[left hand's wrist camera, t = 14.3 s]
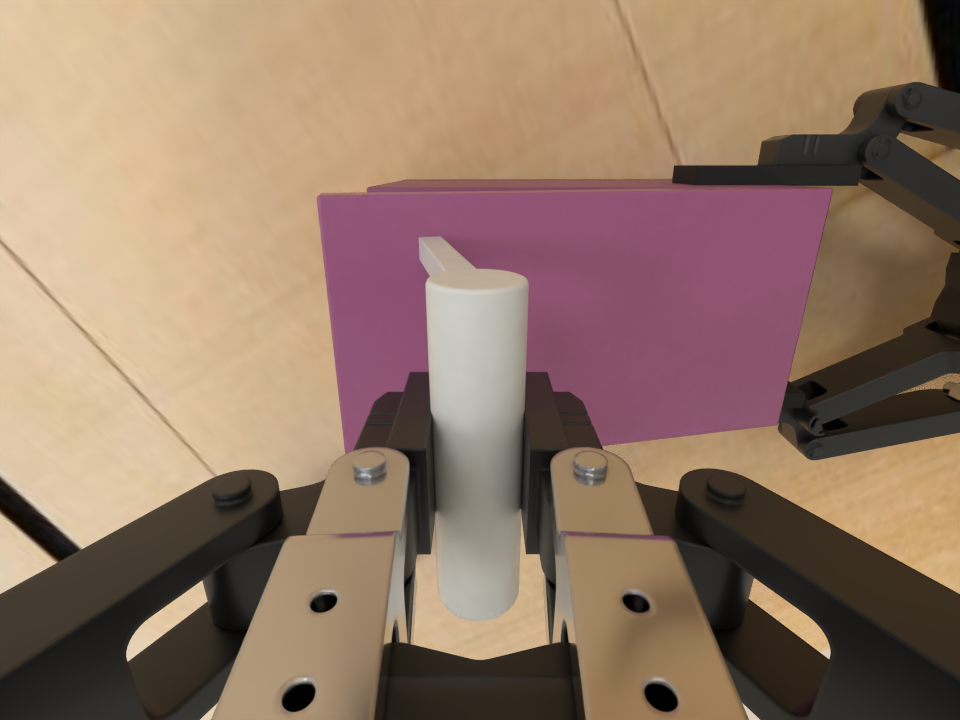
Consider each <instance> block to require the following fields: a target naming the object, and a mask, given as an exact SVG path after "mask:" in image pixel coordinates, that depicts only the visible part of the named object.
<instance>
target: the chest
mask: <svg viewBox="0 0 960 720" xmlns="http://www.w3.org/2000/svg"><path fill="white" fill-rule="evenodd" d="M763 187H802V186H788V185H689V184H679V183H672V179H491V180H402V181H398V182H393V183H388V184H383V185H378V186H373V187H368V188H367V193H372V192H450V191H528V190H607V189H685V188H763Z"/></svg>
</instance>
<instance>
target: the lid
mask: <svg viewBox="0 0 960 720" xmlns="http://www.w3.org/2000/svg"><path fill="white" fill-rule="evenodd" d="M831 195H832V189H831V188H814V187H763V188H685V189H607V190H528V191H450V192H372V193H322V194H320V195H318V196H317V205H318V213H319V222H320V231H321V240H322V249H323V258H324V267H325V276H326V285H327V294H328V303H329V312H330V321H331V330H332V339H333V348H334V357H335V366H336V375H337V384H338V392H339V401H340V410H341V419H342V428H343V437H344V446H345V454H347V453H349V452H352V451H353V449H354V447H355V445H356V443H357V440H358V438H359V436H360V433H361V431H362V429H363V426H364V425H365V422H366V420H367V417H368V415H369V413H370V410H371V408H372V406H373V403H374V401H376V400H377V399H378V398H380V397H381V396H382V395H384V394H385V393H386V392H404V389H405V386H406V382H407V379H408V376H409V373H410V372H429V386H430V409H431V413H432V422H433V448H434V474H435V501H436V514H435V532H436V556H437V581H438V594H439V597H440V599H441V601H442V603H443V604H444V606H445V607H446V608H447V609H448V610H449V611H450V612H451V613H453V614H454V615H456V616H458V617H460V618H463V619H467V620H472V621H484V620H490V619H493V618H496V617H498V616H500V615H502V614H504V613H505V612H506V611H508V610H509V609H510V608H511V606H512V605H513V604H514V602H515V600H516V598H517V596H518V592H519V567H520V537H521V490H522V460H523V431H524V411H525V385H526V372H547V373H548V375H549V379H550V382H551V385H552V388H553V391H554V392H571V393H572V394H574V395H575V396H576V397H578V398H579V399H580V400H582V401H583V403H584V405H585V408H586V410H587V412H588V415H589V417H590V420H591V422H592V425H593V427H594V429H595V431H596V434H597V436H598V438H599V441H600V443H601V446H606V445H614V444H623V443H631V442H639V441H648V440H656V439H665V438H673V437H681V436H690V435H698V434H706V433H715V432H723V431H731V430H740V429H748V428H756V427H765V426H773V425H777V424H778V421H779V417H780V413H781V408H782V404H783V400H784V395H785V391H786V387H787V383H788V378H789V374H790V370H791V366H792V361H793V357H794V353H795V349H796V344H797V340H798V336H799V331H800V327H801V323H802V319H803V314H804V310H805V306H806V302H807V297H808V293H809V289H810V285H811V280H812V276H813V272H814V267H815V263H816V259H817V255H818V250H819V246H820V242H821V238H822V233H823V229H824V225H825V221H826V216H827V212H828V208H829V203H830V199H831Z"/></svg>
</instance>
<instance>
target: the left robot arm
mask: <svg viewBox="0 0 960 720" xmlns="http://www.w3.org/2000/svg"><path fill="white" fill-rule="evenodd" d="M435 514H436V501H435V474H434V448H433V422H432V413H431V409H430V386H429V372H410V373H409V376H408V379H407V382H406V386H405V389H404V392H386V393H385V394H384V395H382V396H381V397H380V398H378V399H377V400H376V401H374V403H373V406H372V408H371V410H370V413H369V415H368V417H367V420H366V422H365V425H364V426H363V429H362V431H361V433H360V436H359V438H358V440H357V443H356V445H355V447H354V449H353V451H352V452H349V453H347V454H345V455H343V456H341V457H340V458H338V459H337V460H336V461H335V462H334V463H333V464H332V465H331V467H330V469H329V472H328V475H327V478H326V480H324V481H321V482H319V483H316V484H312V485H308V486H304V487H299V488H294V489H289V490H283V491H279V485H278V481H277V479H276V477H275V476H273V475H272V474H270V473H268V472H265V471H261V470H239V471H234V472H229V473H226V474H222V475H219V476H217V477H214V478H212V479H210V480H208V481H206V482H204V483H202V484H201V485H199V486H197V487H195V488H193V489H191V490H190V491H188V492H186V493H184V494H182V495H180V496H179V497H177V498H175V499H173V500H171V501H169V502H168V503H166V504H164V505H162V506H160V507H159V508H157V509H155V510H153V511H151V512H149V513H148V514H146V515H144V516H142V517H140V518H138V519H137V520H135V521H133V522H131V523H129V524H128V525H126V526H124V527H122V528H120V529H118V530H117V531H115V532H113V533H111V534H109V535H107V536H106V537H104V538H102V539H100V540H98V541H97V542H95V543H93V544H91V545H89V546H87V547H86V548H84V549H82V550H80V551H78V552H76V553H75V554H73V555H71V556H69V557H67V558H66V559H64V560H62V561H60V562H58V563H56V564H55V565H53V566H51V567H49V568H47V569H45V570H44V571H42V572H40V573H38V574H36V575H34V576H33V577H31V578H29V579H27V580H25V581H24V582H22V583H20V584H18V585H16V586H14V587H13V588H11V589H9V590H7V591H5V592H3V593H2V594H0V720H200V719H201V718H202V717H203V716H204V715H205V714H206V713H207V712H208V711H209V710H210V709H211V708H212V707H214V706H215V705H216V704H217V703H218V704H217V707H216V709H215V711H214V714H213V716H212V719H211V720H749V719H748V716H747V714H746V711H745V709H744V707H743V704H744V705H745V706H746V707H747V708H749V709H750V710H751V711H752V712H753V713H754V714H755V715H756V716H757V717H758V718H759V719H760V720H960V594H958V593H957V592H955V591H953V590H951V589H949V588H947V587H946V586H944V585H942V584H940V583H938V582H936V581H935V580H933V579H931V578H929V577H927V576H925V575H924V574H922V573H920V572H918V571H916V570H915V569H913V568H911V567H909V566H907V565H905V564H904V563H902V562H900V561H898V560H896V559H894V558H893V557H891V556H889V555H887V554H885V553H884V552H882V551H880V550H878V549H876V548H874V547H873V546H871V545H869V544H867V543H865V542H863V541H862V540H860V539H858V538H856V537H854V536H853V535H851V534H849V533H847V532H845V531H843V530H842V529H840V528H838V527H836V526H834V525H832V524H831V523H829V522H827V521H825V520H823V519H822V518H820V517H818V516H816V515H814V514H812V513H811V512H809V511H807V510H805V509H803V508H801V507H800V506H798V505H796V504H794V503H792V502H790V501H789V500H787V499H785V498H783V497H781V496H780V495H778V494H776V493H774V492H772V491H770V490H769V489H767V488H765V487H763V486H761V485H759V484H758V483H756V482H754V481H752V480H750V479H748V478H746V477H744V476H741V475H739V474H736V473H733V472H729V471H725V470H719V469H708V468H707V469H697V470H693V471H690V472H688V473H686V474H685V475H683V476H682V478H681V480H680V484H679V490H678V491H673V490H668V489H663V488H658V487H653V486H649V485H644V484H641V483H638V482H635V480H634V478H633V475H632V472H631V469H630V467H629V465H628V464H627V463H626V462H625V461H624V460H623V459H622V458H620V457H619V456H617V455H615V454H613V453H611V452H608V451H605V450H603V448H602V446H601V443H600V441H599V438H598V436H597V434H596V431H595V429H594V427H593V425H592V422H591V420H590V417H589V415H588V412H587V410H586V408H585V405H584V403H583V401H582V400H580V399H579V398H578V397H576V396H575V395H574V394H572V393H571V392H554V391H553V388H552V385H551V382H550V379H549V375H548V373H547V372H526V385H525V411H524V431H523V460H522V490H521V514H522V523H523V531H524V540H525V549H526V554H540V560H541V566H542V570H543V572H544V584H543V589H544V607H545V624H546V641H547V645H544V646H540V647H536V648H532V649H528V650H524V651H520V652H516V653H512V654H508V655H504V656H500V657H495V658H491V659H487V660H473V659H469V658H465V657H460V656H456V655H452V654H448V653H444V652H440V651H436V650H432V649H428V648H424V647H420V646H416V645H413V641H414V624H415V607H416V589H417V584H416V567H415V563H416V556H417V554H431V547H432V538H433V530H434V522H435ZM754 578H755V579H757V580H758V581H760V582H761V583H762V584H764V585H765V586H767V587H768V588H769V589H771V590H772V591H774V592H775V593H777V594H778V595H779V596H781V597H782V598H784V599H785V600H786V601H788V602H789V603H791V604H792V605H793V606H795V607H796V608H798V609H799V610H800V611H802V612H803V613H805V614H806V615H807V616H809V617H810V618H811V619H812V620H813V621H815V622H816V623H817V624H818V626H819V627H820V628H821V629H822V631H823V632H824V634H825V635H826V637H827V639H828V642H829V644H830V649H831V655H830V659H828V658H826V657H825V656H824V655H822V654H821V653H820V652H818V651H817V650H816V649H814V648H813V647H812V646H810V645H809V644H808V643H806V642H805V641H804V640H802V639H801V638H800V637H799V636H797V635H796V634H795V633H793V632H792V631H791V630H789V629H788V628H787V627H785V626H784V625H783V624H781V623H780V622H779V621H777V620H776V619H775V618H773V617H772V616H771V615H769V614H768V613H767V612H765V611H764V610H763V609H761V608H760V607H759V606H757V605H756V604H755V603H753V602H752V601H751V600H750V599H749V595H750V591H751V587H752V583H753V579H754ZM200 581H203V584H204V588H205V592H206V596H207V600H208V602H206V603H205V604H204V605H203V606H201V607H200V608H199V609H197V610H196V611H195V612H193V613H192V614H191V615H189V616H188V617H187V618H185V619H184V620H183V621H181V622H180V623H179V624H177V625H176V626H175V627H173V628H172V629H171V630H169V631H168V632H167V633H165V634H164V635H163V636H161V637H160V638H159V639H157V640H156V641H155V642H154V643H152V644H151V645H150V646H148V647H147V648H146V649H144V650H143V651H142V652H140V653H139V654H138V655H136V656H135V657H134V658H132V659H131V660H130V661H128V662H127V658H126V650H127V646H128V644H129V641H130V639H131V637H132V636H133V634H134V633H135V631H136V630H137V629H138V628H139V627H140V626H141V625H142V624H143V623H144V622H145V621H146V620H147V619H148V618H150V617H151V616H153V615H154V614H155V613H157V612H158V611H160V610H161V609H162V608H164V607H165V606H167V605H168V604H169V603H171V602H172V601H174V600H175V599H176V598H178V597H179V596H181V595H182V594H183V593H185V592H186V591H188V590H189V589H190V588H192V587H193V586H195V585H196V584H198V583H199V582H200ZM742 703H743V704H742Z"/></svg>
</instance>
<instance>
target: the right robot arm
mask: <svg viewBox="0 0 960 720" xmlns="http://www.w3.org/2000/svg"><path fill="white" fill-rule="evenodd" d="M853 112H854V118H853V120H852V121H851V123H850V125H849V126H848V127H847V128H846V129H845V130H844V131H843V132H841V133H840V134H838V135H784V136H775V137H772V138H770V139H767V140H765V141H762V144H761V150H760V155H759V161H758V166H674V171H673V179H672V183H679V184H689V185H788V186H858V182H860V183H861V184H863V185H864V186H866V187H868V188H869V189H871V190H872V191H874V192H876V193H877V194H879V195H880V196H882V197H883V198H885V199H887V200H888V201H890V202H891V203H893V204H895V205H896V206H898V207H899V208H901V209H903V210H904V211H906V212H907V213H909V214H910V215H912V216H914V217H915V218H917V219H918V220H920V221H922V222H923V223H925V224H926V225H928V226H929V227H931V228H933V229H934V230H935V231H934V233H935V234H936V235H937V236H939V237H940V238H942V239H943V240H945V241H947V242H948V243H950V244H951V245H953V246H955V247H956V248H958V249H959V252H958V253H951V255H950V258H949V262H948V265H947V268H946V279H945V287H944V288H943V290H942V292H941V293H940V295H939V297H938V298H937V300H936V302H935V304H934V308H933V311H932V314H931V317H929V318H927V319H925V320H922V321H920V322H918V323H915V324H913V325H911V326H908V327H906V328H905V329H904V330H903V332H904V334H903V335H901V336H899V337H897V338H895V339H892V340H890V341H888V342H885V343H883V344H881V345H878V346H876V347H873V348H871V349H869V350H866V351H864V352H862V353H859V354H857V355H855V356H852V357H850V358H847V359H845V360H843V361H840V362H838V363H836V364H833V365H831V366H829V367H826V368H824V369H822V370H819V371H817V372H814V373H812V374H810V375H807V376H805V377H803V378H800V379H798V380H796V381H793V382H791V383H790V382H789V381H788V383H787V387H786V391H785V395H784V400H783V404H782V408H781V413H780V417H779V421H778V423H779V426H778V431H779V433H780V434H781V435H782V436H784V437H785V438H786V439H787V440H788V441H789V442H790V443H791V444H792V445H793V446H794V447H795V448H796V449H798V450H799V451H800V452H801V453H802V454H803V455H804V456H805V457H806V458H808V459H810V460H820V459H825V458H830V457H835V456H840V455H846V454H851V453H856V452H861V451H866V450H871V449H877V448H882V447H887V446H892V445H897V444H903V443H908V442H913V441H918V440H923V439H928V438H934V437H939V436H944V435H949V434H954V433H959V432H960V382H959V383H955V382H952V381H950V382H947V383H946V384H944V386H943V389H925V390H919V391H913V392H908V393H903V394H898V393H901V392H903V391H906V390H908V389H911V388H913V387H916V386H918V385H920V384H923V383H925V382H928V381H930V380H933V379H935V378H938V377H940V376H943V375H945V374H949V373H958V374H960V180H958V179H957V178H955V177H954V176H952V175H951V174H949V173H948V172H946V171H945V170H943V169H942V168H940V167H939V166H937V165H935V164H934V163H932V162H931V161H929V160H928V159H926V158H925V157H923V156H922V155H920V154H919V153H917V152H916V151H914V150H913V149H911V148H910V147H908V146H907V145H905V144H903V143H902V142H900V141H899V140H897V139H896V137H897V136H898V134H899V132H900V133H903V134H907V135H910V136H914V137H917V138H921V139H924V140H928V141H931V142H935V143H938V144H942V145H946V146H949V147H953V148H956V149H960V94H958V93H955V92H951V91H948V90H945V89H941V88H938V87H934V86H931V85H927V84H924V83H921V82H912V83H907V84H902V85H897V86H892V87H886V88H881V89H876V90H871V91H868V92H865V93H863V94H862V95H861V96H859V97H858V99H857V100H856V102H855V104H854V108H853ZM896 394H898V395H896Z"/></svg>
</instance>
